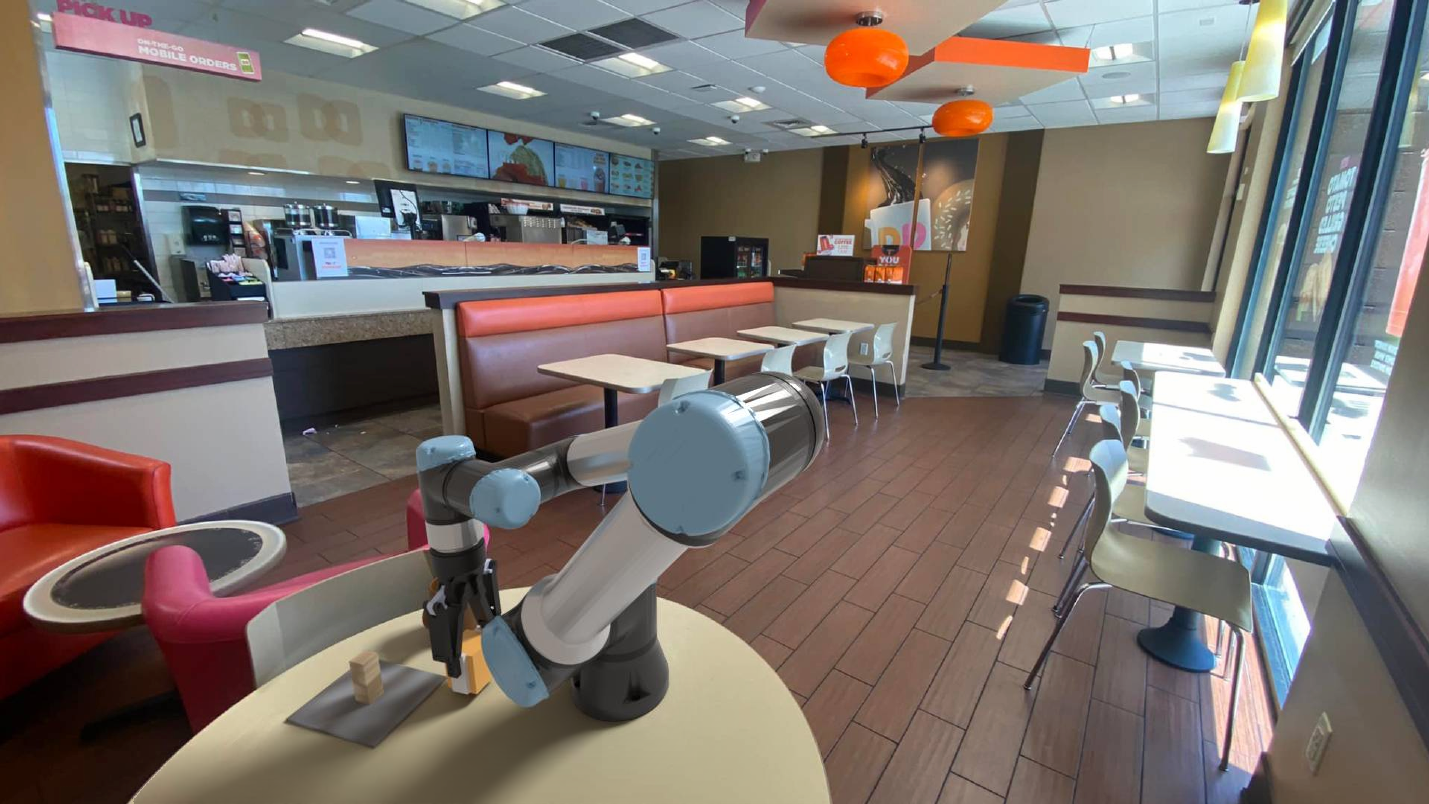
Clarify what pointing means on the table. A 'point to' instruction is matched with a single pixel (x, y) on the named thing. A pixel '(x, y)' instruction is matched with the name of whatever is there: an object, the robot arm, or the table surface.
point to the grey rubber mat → (367, 700)
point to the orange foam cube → (474, 661)
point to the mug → (468, 614)
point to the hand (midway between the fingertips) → (475, 677)
